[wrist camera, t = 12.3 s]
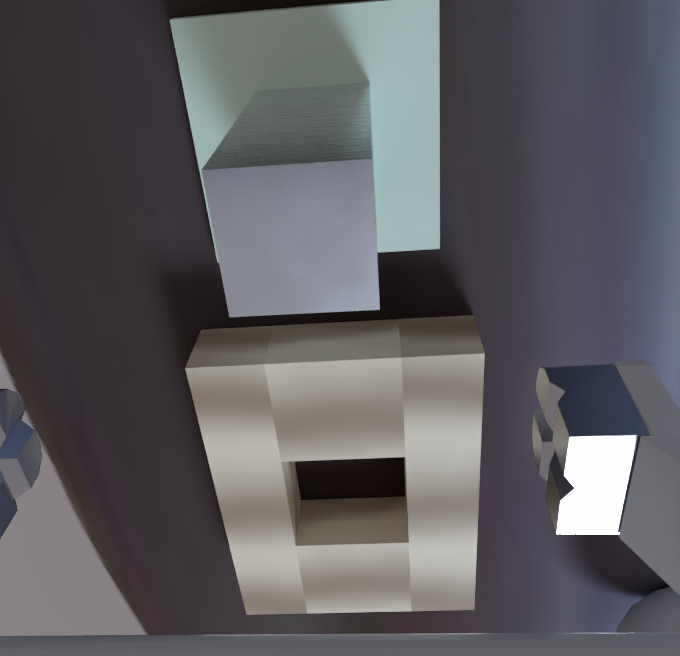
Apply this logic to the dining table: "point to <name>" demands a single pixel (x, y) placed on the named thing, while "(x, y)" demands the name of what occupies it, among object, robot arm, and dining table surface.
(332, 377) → the frame
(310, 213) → the aluminium block
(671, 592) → the donut
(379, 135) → the green pad
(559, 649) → the robot arm
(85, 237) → the dining table surface
